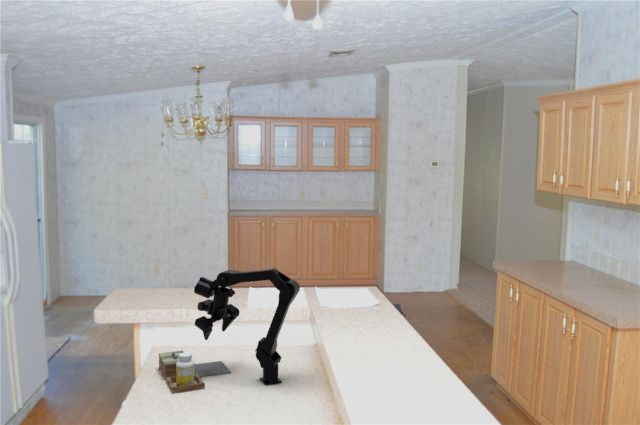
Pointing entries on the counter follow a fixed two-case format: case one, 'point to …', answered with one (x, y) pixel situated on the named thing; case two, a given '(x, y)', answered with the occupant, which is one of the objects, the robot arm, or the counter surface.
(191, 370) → the pill bottle
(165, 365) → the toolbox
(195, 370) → the slate mat
